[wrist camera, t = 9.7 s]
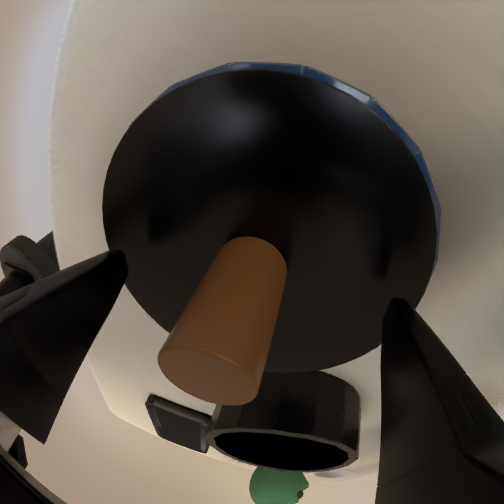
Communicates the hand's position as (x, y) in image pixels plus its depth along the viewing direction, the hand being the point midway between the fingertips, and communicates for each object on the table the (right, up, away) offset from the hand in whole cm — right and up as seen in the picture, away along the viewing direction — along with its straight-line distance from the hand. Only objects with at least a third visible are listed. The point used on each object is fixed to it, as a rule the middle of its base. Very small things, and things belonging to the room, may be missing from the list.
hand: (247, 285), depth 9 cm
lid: (0, +1, +1) cm, 2 cm away
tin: (+3, -11, +12) cm, 17 cm away
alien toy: (+5, -27, +22) cm, 35 cm away
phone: (-9, -21, +22) cm, 32 cm away
